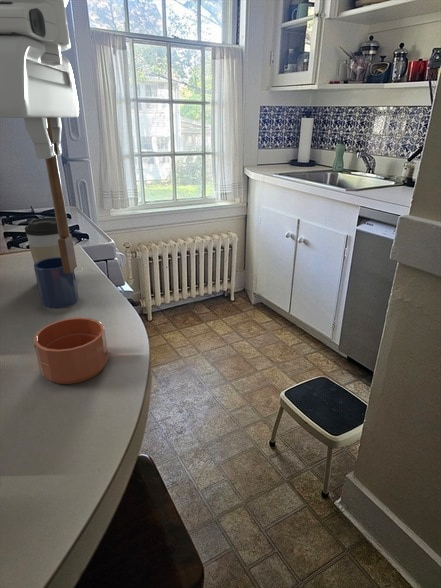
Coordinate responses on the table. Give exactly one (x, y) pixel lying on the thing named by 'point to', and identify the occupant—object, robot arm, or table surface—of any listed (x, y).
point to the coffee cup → (43, 238)
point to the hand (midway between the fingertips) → (50, 157)
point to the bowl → (71, 350)
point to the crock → (55, 284)
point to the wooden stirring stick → (60, 211)
